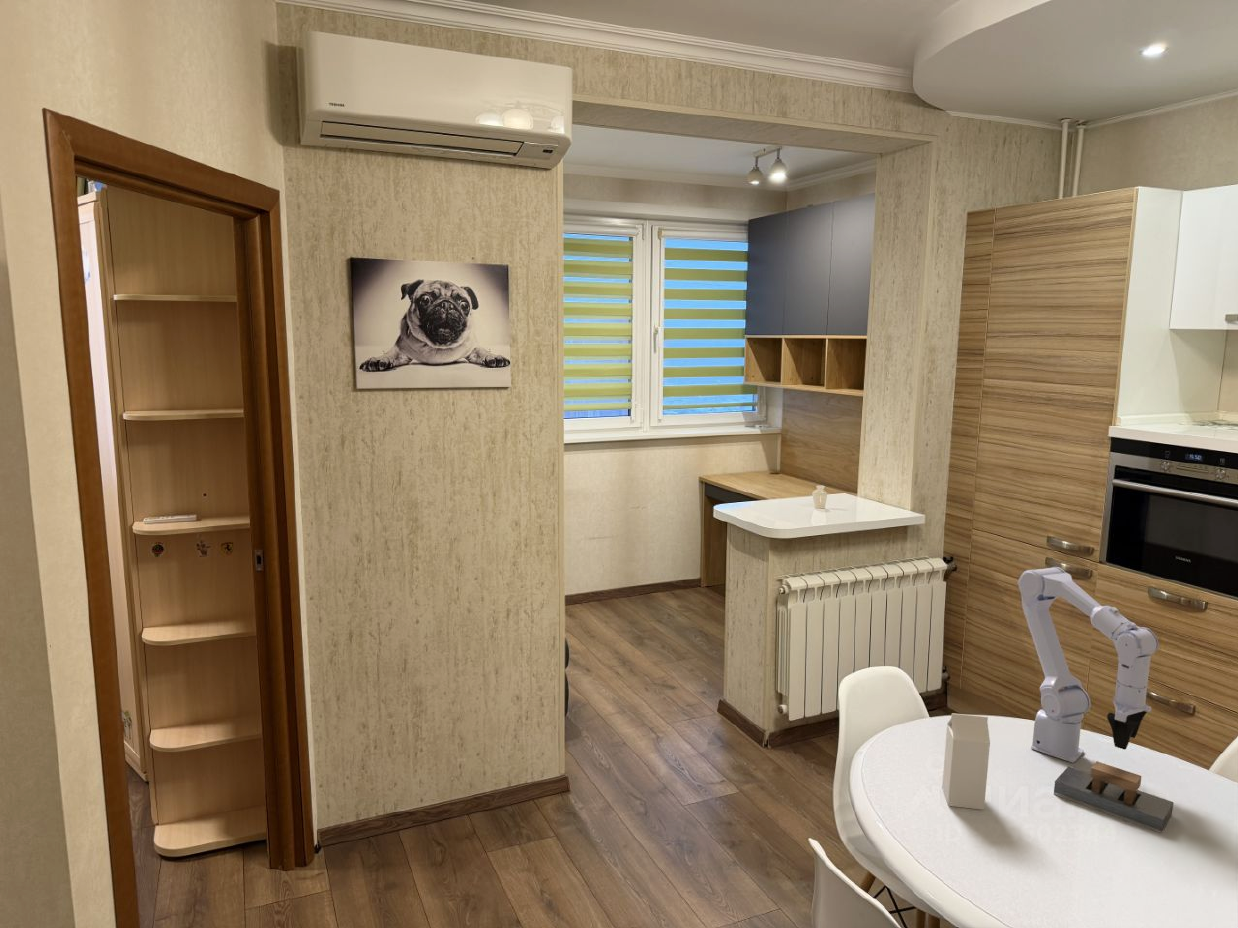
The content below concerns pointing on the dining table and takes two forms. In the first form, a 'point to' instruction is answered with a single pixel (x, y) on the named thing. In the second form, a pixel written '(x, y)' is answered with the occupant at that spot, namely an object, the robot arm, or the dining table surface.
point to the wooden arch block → (1115, 780)
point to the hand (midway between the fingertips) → (1125, 741)
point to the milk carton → (966, 761)
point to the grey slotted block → (1114, 800)
